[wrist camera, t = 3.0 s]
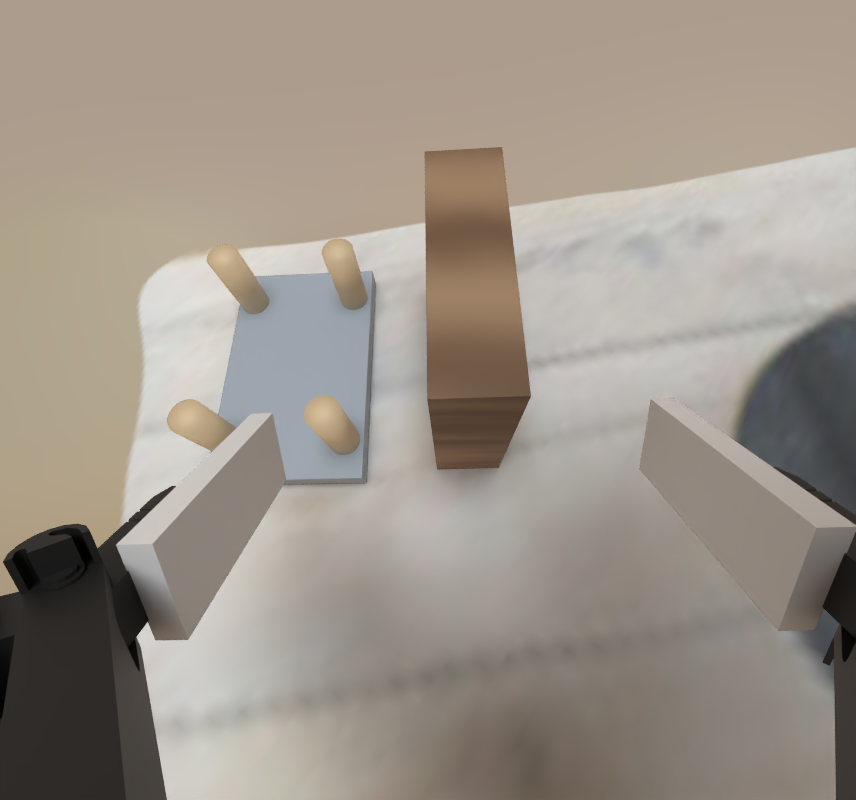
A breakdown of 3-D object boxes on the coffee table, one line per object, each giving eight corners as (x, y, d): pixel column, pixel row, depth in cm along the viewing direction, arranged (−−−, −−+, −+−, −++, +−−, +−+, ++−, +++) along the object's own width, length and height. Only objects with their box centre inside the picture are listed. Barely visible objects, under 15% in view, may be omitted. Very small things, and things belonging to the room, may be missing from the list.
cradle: (366, 482, 27) (342, 457, 21) (217, 485, 27) (152, 462, 21) (375, 283, 33) (358, 220, 27) (253, 289, 34) (211, 227, 28)
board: (498, 467, 27) (530, 396, 16) (437, 469, 27) (427, 399, 16) (484, 292, 32) (501, 147, 21) (433, 294, 33) (424, 151, 22)
